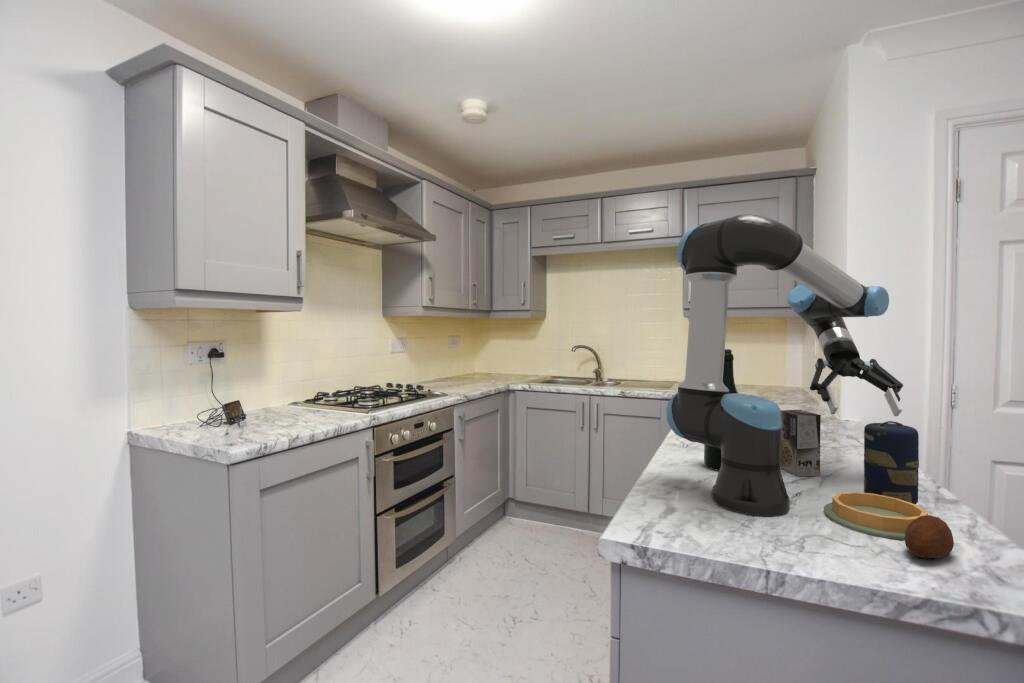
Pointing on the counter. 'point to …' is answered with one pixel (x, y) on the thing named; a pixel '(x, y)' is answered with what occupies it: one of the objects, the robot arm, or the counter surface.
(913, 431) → the canister
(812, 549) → the counter surface
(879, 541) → the counter surface
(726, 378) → the dark wine bottle
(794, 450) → the coffee box
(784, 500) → the robot arm
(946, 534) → the potato
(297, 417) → the counter surface
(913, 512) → the green orange round dish
